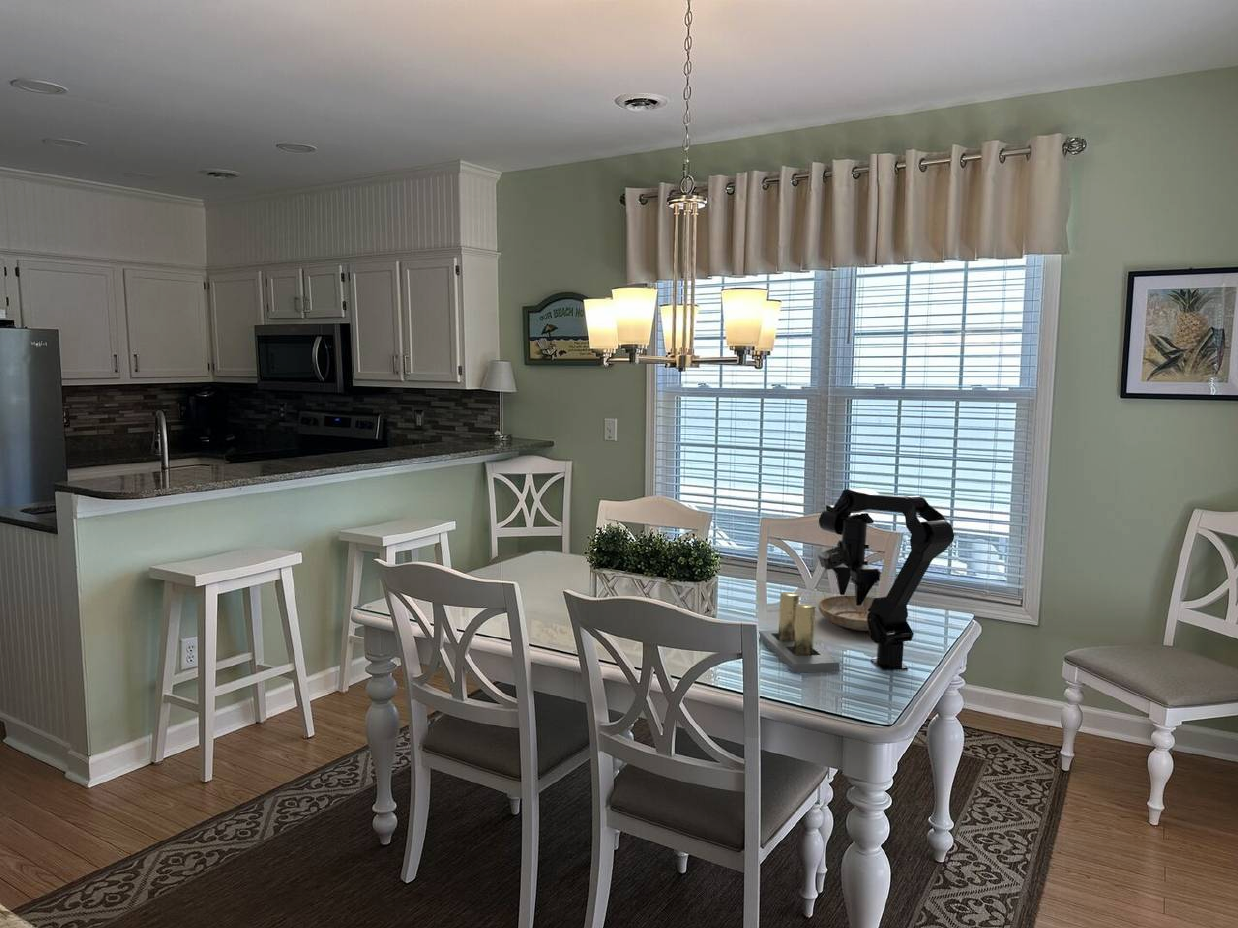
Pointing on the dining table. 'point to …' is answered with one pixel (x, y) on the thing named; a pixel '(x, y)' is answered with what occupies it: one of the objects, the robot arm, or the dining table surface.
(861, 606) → the ceramic bowl
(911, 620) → the dining table surface
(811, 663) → the frame
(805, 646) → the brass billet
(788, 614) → the cylinder
